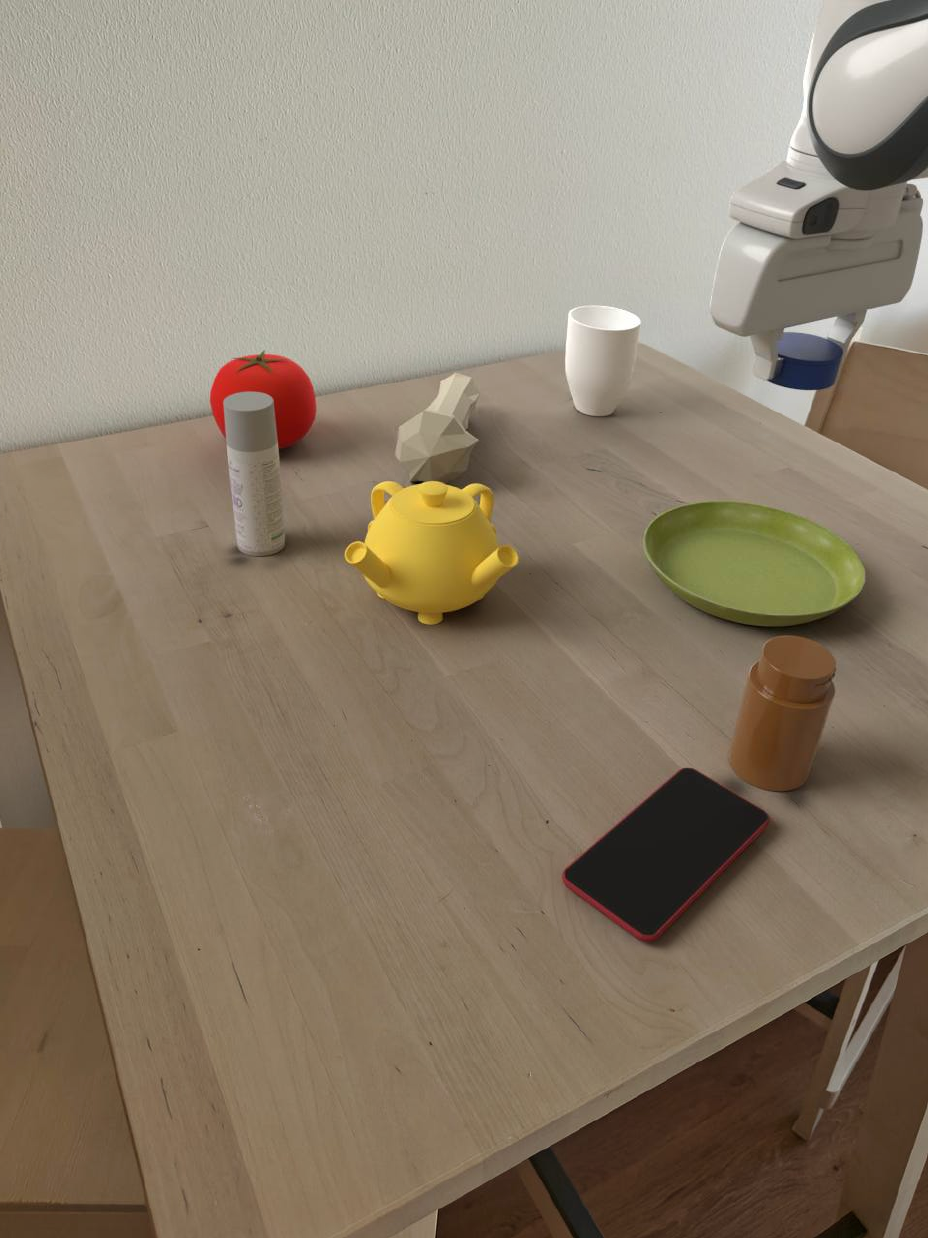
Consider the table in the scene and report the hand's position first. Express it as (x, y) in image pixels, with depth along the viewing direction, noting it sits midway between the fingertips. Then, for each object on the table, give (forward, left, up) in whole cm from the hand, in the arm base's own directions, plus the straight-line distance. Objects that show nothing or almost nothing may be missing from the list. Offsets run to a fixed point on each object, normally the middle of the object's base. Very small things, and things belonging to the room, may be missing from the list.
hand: (797, 368), depth 84 cm
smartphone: (-26, +25, -22) cm, 42 cm away
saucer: (+1, -1, -22) cm, 22 cm away
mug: (+43, -8, -22) cm, 49 cm away
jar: (-21, +13, -22) cm, 33 cm away
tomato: (+45, +35, -22) cm, 61 cm away
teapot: (+8, +29, -22) cm, 37 cm away
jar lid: (0, 0, +1) cm, 2 cm away
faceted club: (+37, +15, -22) cm, 46 cm away
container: (+23, +41, -22) cm, 52 cm away
